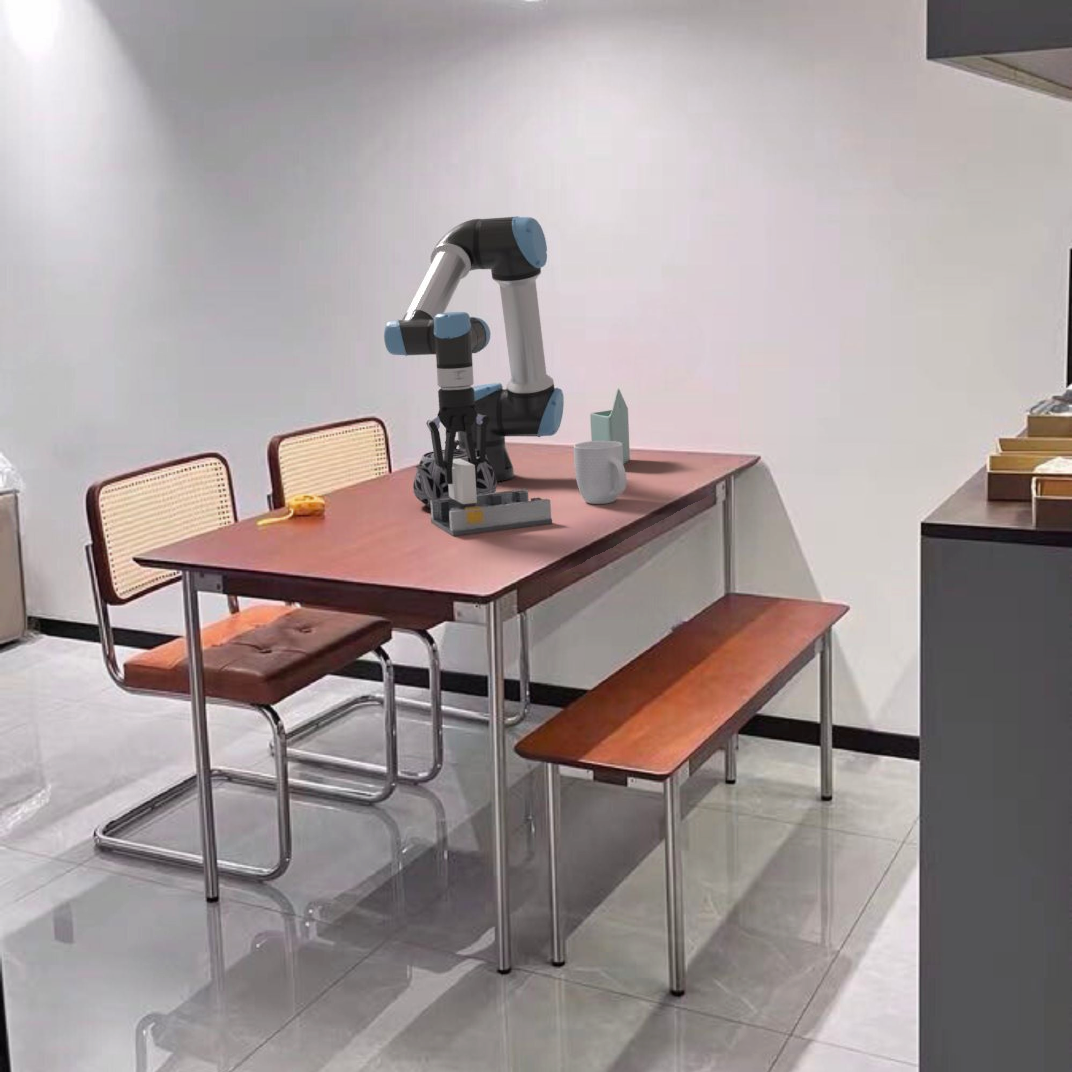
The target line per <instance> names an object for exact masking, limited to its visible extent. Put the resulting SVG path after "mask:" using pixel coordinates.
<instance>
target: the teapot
mask: <svg viewBox="0 0 1072 1072" xmlns="http://www.w3.org/2000/svg"><path fill="white" fill-rule="evenodd" d="M445 442H446V440H445V441H444V443H445ZM459 443H460V441H459V440H458V439H455V442H454V454H453V459H462V460H465V461H467V462H468V457H467V453H466V449H459V448H457V447H459ZM442 453H443V460H444V454H445V449H442ZM475 454H476V455H477V450H476V449H475ZM414 468H416V472H415V475H414V478H413V490H412V491H413V493H414V496H415V497H416V499H417V500H419V502H420V503H422V504H424V506H426V507H427V508H430V509H431V504H430V500H436V499H444V498H450V497H449V487H448V484H447V483H446V482H445V470H444V468H442V467H439V466H437V465H436V464H435V458H434V451H433V450H432V451H429V452H426V453H424V454H422V456H421V459H420V461H419V464H417V465H414ZM477 475H478V479H477V481H476V495H478V494H487V493H495V492H496V491H497V487H498V483H497V480H496V476H495V473H494V471H493V469H492V466H491V464H490V463H489V461H488V459H487V454H486V456H485V462H483V463H480V464H479V465H478V467H477Z"/></svg>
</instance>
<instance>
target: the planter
mask: <svg viewBox="0 0 1072 1072" xmlns="http://www.w3.org/2000/svg"><path fill="white" fill-rule="evenodd" d="M614 397H615V398H614V401H613V405H612V409H610V410H603V411H596V412H591V413H590V415H589V416H590V419H589V420H590V436H591V437H590V438H591V440H590V441H616V442H620V443H622V448H623V465H624V464H626V463H628V461H630V459H631V458H630V457H631V453H630V427H629V408H628V405H627V403H626V401H625V398H624V397H623V394H622V392H621V390H620V388H617V390H616V393H615V396H614Z"/></svg>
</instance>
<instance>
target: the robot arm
mask: <svg viewBox="0 0 1072 1072" xmlns="http://www.w3.org/2000/svg"><path fill="white" fill-rule="evenodd" d="M544 233H545V232H544V230H543V227H542V226H541V224H540V222H538V220H537V219H535V218H534V217H531V216H527V217H526V216H522V217H520V216H517V215H516V216H508V217H507V216H506V217H493V218H492V217H491V218H473V219H469V220H465V221H464V222H462V223H459V224H457V225H456V226H454V227H453V228H452V229H451V230H449V231H448V232H446V234H445V235H443V236H442V238H440V240H439V241H438V242H437V243H436V245H435V247H434V248H433V250H432V253H431V254H430V266H429V268H428V269H427V271H426V274H425V275H424V278H423V279H422V281H421V283H420V284H419V287H418V289H417V290H416V293H415V295H414V297H413V299H412V301H411V303H410V304H409V307H408V308H407V310H406V312H405V314H404V315H403V317H402V319H396V320H395V319H394V320H390V321H388V322H387V323H386V325H385V327H384V334H383V339H384V345H385V348H386V351H387V352H388V354H390V355H393V356H405V357H407V356H422V355H423V356H428V355H435V358H436V359H435V360H436V378H437V381H436V382H437V386H438V388H439V390H438V391H437V394H438V395H437V396H438V407H439V408H438V413H437V417H435V418H433V419H431V420H430V419H429V420H427V421H426V426H427V428H428V429H429V432H430V436H431V437H430V438H431V443H432V452H433V451H434V458H435V464H436V465H437V466H439V467H442V468H444V470H445V482H446V483H447V484H450V496H451V498H452V499H454V500H458V496H457V479H456V469H454V468H452V466H453V454H454V442H455V440H456V436H457V440H459V441H460V443H459V445H458V449H466V453H467V457H468V462H469V463H471V464H474V465H475V478H476V481H477V479H478V475H477V467H478V465H479V464H480V463H483V462H485V456H486V454H487V459H488V461H489V463H490V464H491V466H492V469H493V471H494V473H495V476H496V480H497V482H502V481H506V480H507V481H508V480H511V479H512V478H514V476H515V475H514V474H515V473H514V472H515V471H514V465H513V463H512V460H511V459H510V455H509V453H508V451H507V448H506V437H537V438H540V437H550V436H554V435H556V433H558V431H559V430H560V427H561V423H562V420H563V414H564V401H565V399H564V398H565V397H564V392H563V390H562V389H561V388H559V387H555V383H554V379H553V377H551V376H550V375H548V374H547V370H546V369H547V367H546V359H545V349H544V342H543V334H542V333H543V332H542V326H541V325H542V323H541V317H540V316H541V315H540V308H539V299H538V291H537V289H538V288H537V281H536V280H537V279H538V278H539V276H540V275H541V274H542V273H541V272H542V268H543V267H545V265H546V263H547V261H548V259H547V258H548V254H547V252H548V248H547V247H548V246H547V240H546V237H545V236H546V235H545V234H544ZM475 270H490V271H491V279H492V280H493V281H495V282H496V283H497V284H498V286H499V290H500V291H499V292H500V298H501V299H500V300H501V305H502V306H501V307H502V316H503V322H504V329H505V331H504V332H505V337H506V346H507V355H508V361H509V362H508V363H509V368H510V369H509V370H510V377H511V378H510V380H509V381H508V382H507V383H506V389H505V388H504V386H503V384H502V383H501V382H498V383H497V382H493V383H487V384H481V385H474V383H475V382H474V368H473V365H474V364H473V354H477V353H479V352H481V351H482V350H484V349H485V348H486V347H487V345H488V344H489V343H490V341H491V330H490V327H489V325H488V324H487V322H486V321H485V320H483V319H482V318H480V317H476V316H470V315H469V313H467V312H465V311H450V312H446V310H447V308H448V306H449V304H450V302H451V300H452V298H453V295H454V293H455V291H456V290H457V287H458V286H459V283H460V281H461V280H462V279H464V278H466V277H467V276H468V274H469V273H470V272H471V271H475ZM440 423H441V425H442V426H443V427H444V428H445V441H446V442H445V441H444V444H445V445H444V450H445V454H444V460H443V453H442V450H443V447H442V441H441V435H440V430H439V429H440ZM475 449H476V450H477V455H476V454H475Z"/></svg>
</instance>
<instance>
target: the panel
mask: <svg viewBox="0 0 1072 1072" xmlns="http://www.w3.org/2000/svg"><path fill="white" fill-rule="evenodd" d="M452 468H454V469H456V479H457V496H458V500H456V501H458V502H460V503H462V504H470V503H477V496H476V478H475V465H474V464H471V463H469V462H467V461H465V460H462V459H453V466H452ZM448 487H449V497H450V498H451V496H450V484H448Z"/></svg>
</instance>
